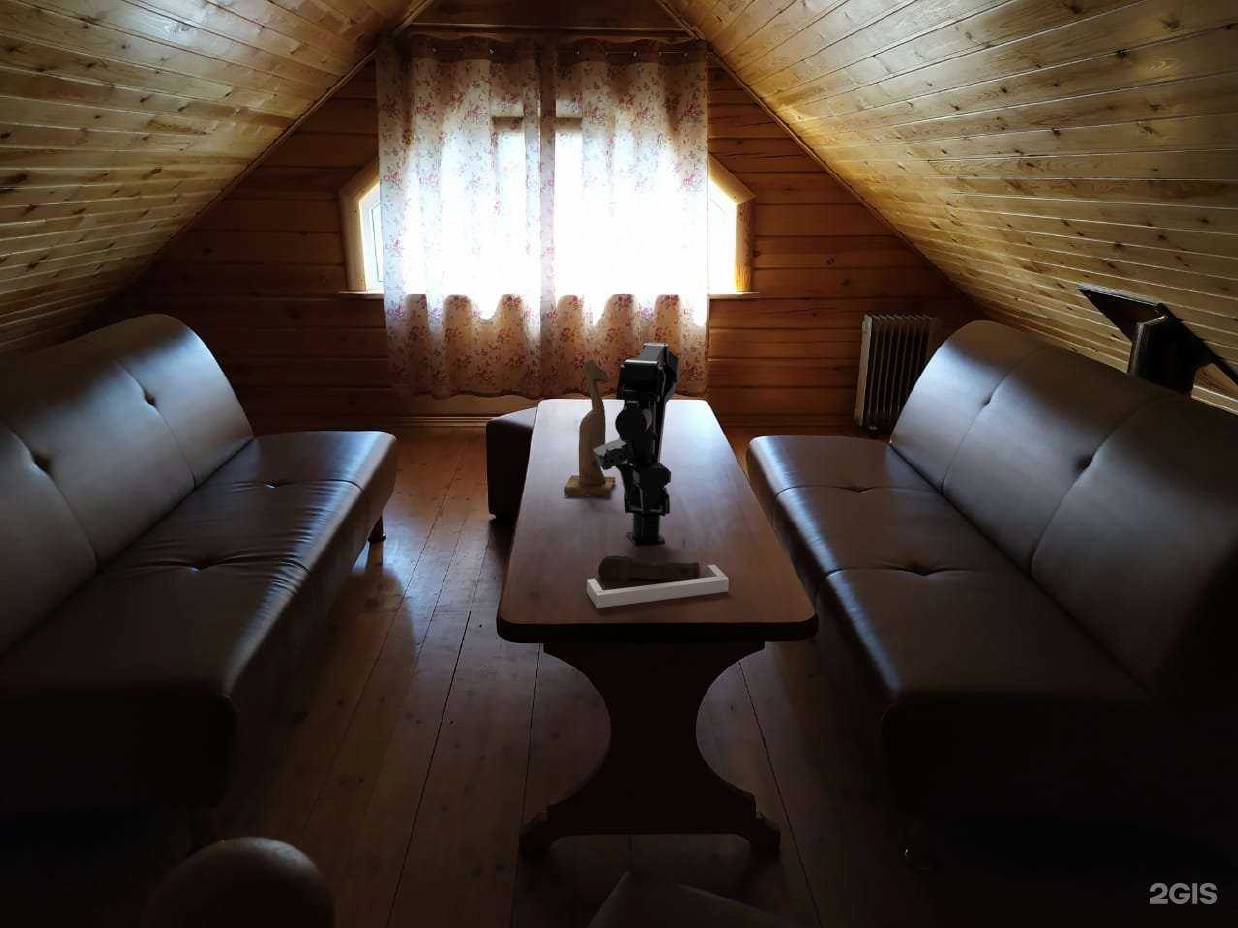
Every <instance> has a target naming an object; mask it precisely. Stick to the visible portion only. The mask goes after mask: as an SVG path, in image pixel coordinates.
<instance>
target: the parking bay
mask: <svg viewBox="0 0 1238 928" xmlns="http://www.w3.org/2000/svg"><path fill="white" fill-rule="evenodd" d="M706 567H707V568H706V577H704V578H702V577H701V578H699V579H694V580H686V581H670V582H669V581H668V582H662V583H655V584H646V585H640V586H632V587H631V586H630V587H623V588H622V587H621V588H614V589H607V590H603V589H602V587H601V585H600V584H599V582H598V581H597V580H596V579H597V578H591V579H589V578H588V579H587V580H586V593H587V594H588V596H589V597H590V600H591V601H592V603H593V604H594V606H595V607H596V609H602V608H603V609H604V608H609V607H618V606H624V605H625V606H626V605H633V604H640V603H641V604H642V603H649V602H657V601H663V600H664V601H665V600H671V599H673V600H674V599H680V598H688V597H695V596H702V595H710V594H718V593H726V592H729V585H730V584H729V582H730V581H729V579H730V578H728V577H727V575H726V574H725V573H723V572H722V570H721V569H720V568H719V567H718V566H717V565H716V564H709V565H706Z"/></svg>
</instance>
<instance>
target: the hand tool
mask: <svg viewBox="0 0 1238 928" xmlns="http://www.w3.org/2000/svg"><path fill="white" fill-rule="evenodd" d="M597 573H598V575H597V576H599V577H601V578H604V579H609V580H615V581H622V582H628V581H630V580H634V579H636V580H649V581H650V580H651V581H652V580H656V581H667V582H669V581H670V582H677V581H686V580H694V579H700V573H701V569H700V563H699V562H698V561H696V562H692V563H691V562H689V563H688V562H687V563H684V562H679V561H677V562H674V561H666V562H663V561H645V560H637V559H634V560H633V559H632V556H627V555H626V556H625V555H624V556H623V555H606V556H605V557H603V559H602V560H601V562H600V564H599V565H598V572H597Z"/></svg>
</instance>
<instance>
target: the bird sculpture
mask: <svg viewBox="0 0 1238 928" xmlns="http://www.w3.org/2000/svg"><path fill="white" fill-rule="evenodd" d="M582 373H583V375H584V377H585V381H586V384H587V388H588V390H589V395H590V400H591V410H589V412H588V413H586V415H585V416H584V417H583V418H582V419H581V421H580V424H579V427H578V428H579V430H578V436H579V437H578V475H574V474H571V475H570V476H569V479H568V480H567V481H566V484H565V486H564V487H563V489H564V490H563V492H564V497H566V496H568V497H571V496H572V497H574V498H578V497H581V498H588V499H589V498H591V499H592V498H594V499H597V498H598V499H610V498H611V490H612V486H613V484H616V480H617V479H616V476H605V474H604V473H603V469H602V467H601V466H599V465H598V463H597V460H596V457H595V454H594V451H593V450H594V449H595V448H597V447H599V446H601V445H604V444H606V429H607V427H606V411H605V405H604V402H603V398H602V395H601V393H600V392H601V391H600V389H599V386H598V382H603V383H606V384H607V383H608V373H607V372H606V371H605V370H604V369H602V368H600V367H599V366H598V365H597V364H596V362H595V359H588V360H586V362H585V363H584V365H583V368H582Z"/></svg>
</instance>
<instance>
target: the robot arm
mask: <svg viewBox="0 0 1238 928" xmlns="http://www.w3.org/2000/svg"><path fill="white" fill-rule="evenodd" d="M642 347H643V349H642V350H641V352H640V353H639V355H638V357H636V358H635V357H633V358H626V359H625V360H624V363H623V364H622V365H620V368H619V372H618V373H619V374H618V379H617V380H618V382H617V390H616V397H615V400H617V401H623V408H622V409H621V410H620V411H619V413H618V414H617V415H616V417H615V420H614V421H615V422H614V427H615V430H616V432H617V433H618V435H619V436H618V438H617V439H614V440H612V441H609V442H607V443H606V442H605V444H604V445H601V446H599V447H597V448H595V449H594V450H593V451H594V454H595V457H596V460H597V463H598V465H599V466H600V467H601V470H602V471H603V470H604V471H607V470H610V469H612V468H613V467H615V468H616V469H617V470H618V471H619V474H620V478H621V481H622V485H623V489H624V492H623V495H624V496H623V500H624V501H623V502H624V514H632V523H631V524H632V525H631V526H632V530H631V531H626V535H627V537H628V538H629V539H630V540H631V541H632V543H633V544H634V545H636V546H645V545H653V544H654V545H655V544H664V543H665V542H666V539H665V538H664V537H663V536H662V535H661V533H660V531H661V530H660V528H661V516H662V517H666V515H669V514H671V497H670V494H669V493H668V488H667V487H665V486H668V484H670V483H671V482H672V471H670V470H669V468H667V467H666V466H665V465H664V464H663V463H661V453H662V446H663V445H662V444H663V434H664V427H665V418H666V410H667V403H668V402H669V401H670V400H671V399H672V398H673V396H674V395H675V393H676V386H677V384H679V383H680V375H681V369H680V366H681V365H680V360H679V358H678V357H677V356H676V355H675V354H674V353H673V352H672V351H671V350H670V345H669V344H666V343H664V342H650V341H649V342H646V343H644V344H643V346H642Z"/></svg>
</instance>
